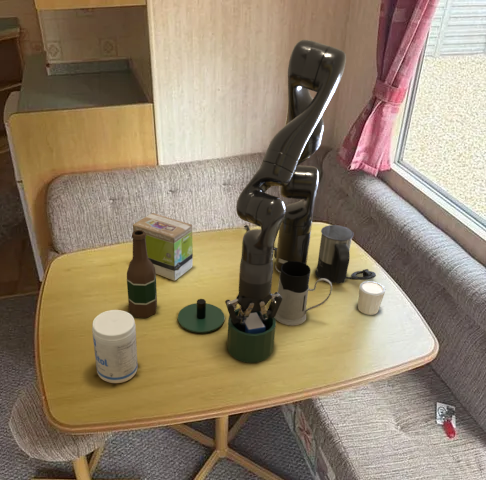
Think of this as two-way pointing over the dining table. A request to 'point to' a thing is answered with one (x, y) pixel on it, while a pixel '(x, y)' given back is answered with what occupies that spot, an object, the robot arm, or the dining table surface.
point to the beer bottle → (141, 279)
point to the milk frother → (337, 255)
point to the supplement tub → (115, 346)
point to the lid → (201, 317)
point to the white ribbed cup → (370, 297)
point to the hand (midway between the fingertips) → (251, 332)
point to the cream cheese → (254, 324)
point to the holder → (295, 293)
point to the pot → (251, 342)
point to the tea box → (167, 244)
